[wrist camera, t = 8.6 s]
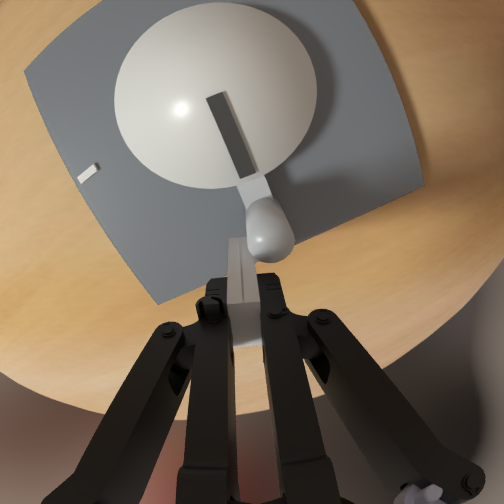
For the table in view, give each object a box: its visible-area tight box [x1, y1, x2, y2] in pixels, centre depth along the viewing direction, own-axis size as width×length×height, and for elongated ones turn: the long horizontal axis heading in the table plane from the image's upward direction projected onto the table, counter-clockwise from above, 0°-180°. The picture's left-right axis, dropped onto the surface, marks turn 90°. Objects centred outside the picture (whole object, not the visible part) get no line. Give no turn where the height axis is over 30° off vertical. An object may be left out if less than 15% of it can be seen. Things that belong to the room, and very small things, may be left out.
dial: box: [114, 3, 317, 263], centre depth 13 cm, size 16×12×5 cm
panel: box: [24, 0, 425, 305], centre depth 16 cm, size 24×24×2 cm
